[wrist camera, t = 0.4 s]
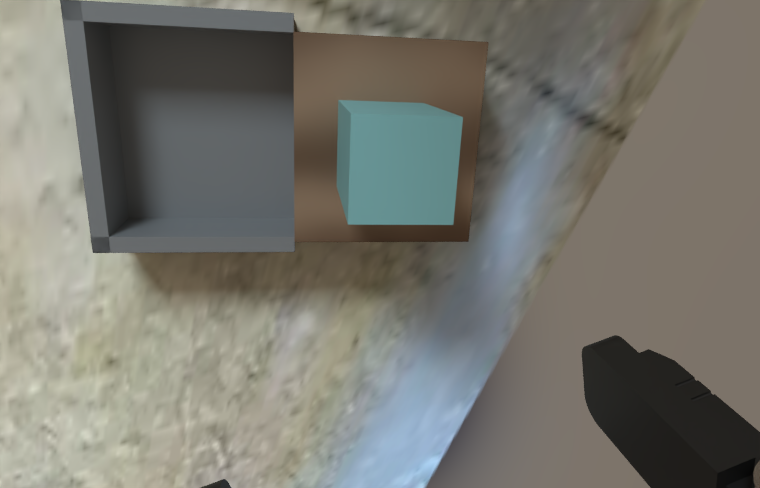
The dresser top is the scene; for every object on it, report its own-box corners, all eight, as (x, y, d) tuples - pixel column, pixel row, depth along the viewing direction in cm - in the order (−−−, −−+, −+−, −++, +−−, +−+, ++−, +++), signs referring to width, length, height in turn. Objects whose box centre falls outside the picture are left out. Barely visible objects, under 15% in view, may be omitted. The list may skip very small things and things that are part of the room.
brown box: (294, 35, 35) (293, 31, 30) (459, 44, 37) (488, 42, 31) (295, 215, 39) (294, 241, 33) (444, 216, 41) (468, 241, 35)
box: (93, 7, 33) (60, -1, 28) (294, 19, 35) (293, 13, 30) (118, 228, 38) (92, 252, 33) (295, 228, 39) (294, 251, 35)
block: (338, 99, 31) (351, 113, 24) (424, 103, 32) (462, 117, 24) (336, 186, 33) (348, 224, 25) (418, 187, 33) (453, 224, 26)
